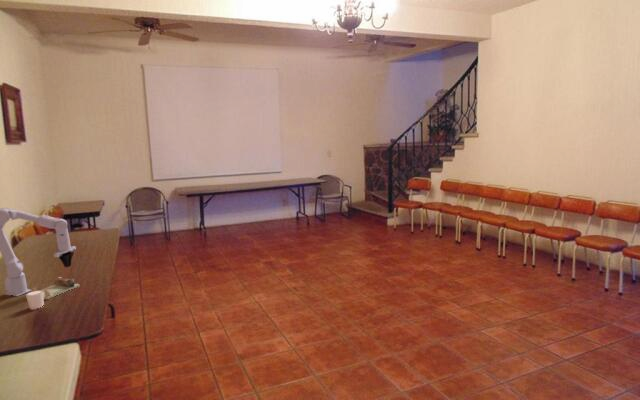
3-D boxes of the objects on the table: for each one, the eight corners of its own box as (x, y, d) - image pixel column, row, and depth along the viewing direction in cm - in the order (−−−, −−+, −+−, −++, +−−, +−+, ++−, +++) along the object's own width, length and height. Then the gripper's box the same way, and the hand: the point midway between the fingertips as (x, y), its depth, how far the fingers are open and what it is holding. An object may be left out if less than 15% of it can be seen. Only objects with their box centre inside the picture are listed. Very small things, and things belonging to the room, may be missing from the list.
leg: (76, 284, 230) (75, 279, 230) (71, 286, 228) (70, 280, 227) (59, 283, 234) (58, 277, 234) (54, 285, 232) (53, 279, 231)
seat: (28, 297, 221) (26, 289, 220) (60, 284, 238) (59, 276, 237) (48, 299, 216) (46, 291, 215) (80, 286, 232) (79, 278, 232)
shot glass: (42, 302, 212) (39, 289, 211) (47, 305, 208) (45, 291, 207) (26, 308, 207) (23, 293, 206) (31, 311, 203) (28, 296, 201)
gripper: (61, 245, 227) (65, 270, 229) (79, 238, 241) (83, 262, 243) (48, 245, 228) (52, 271, 230) (67, 238, 242) (71, 262, 244)
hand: (67, 266), depth 237 cm, fingers closed
